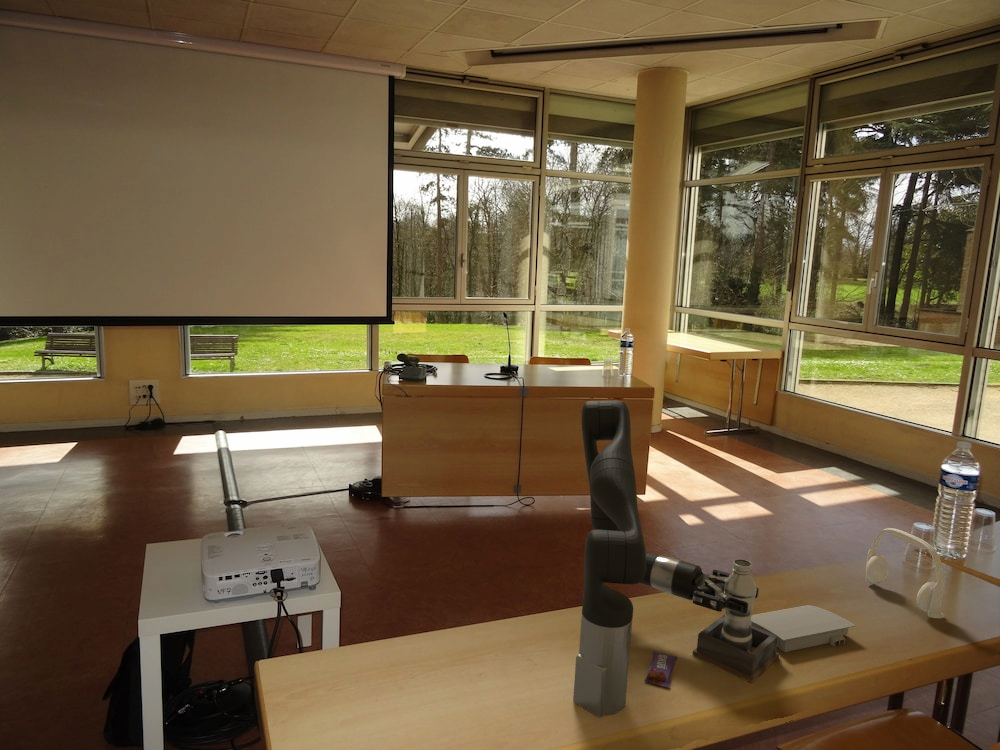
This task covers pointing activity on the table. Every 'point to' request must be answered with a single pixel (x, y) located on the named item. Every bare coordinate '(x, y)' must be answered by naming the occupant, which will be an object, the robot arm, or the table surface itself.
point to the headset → (930, 591)
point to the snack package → (660, 669)
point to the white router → (802, 626)
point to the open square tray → (737, 651)
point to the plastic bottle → (737, 622)
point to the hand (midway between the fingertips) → (752, 600)
